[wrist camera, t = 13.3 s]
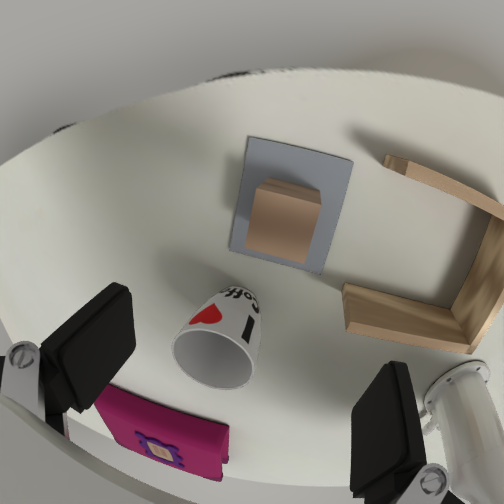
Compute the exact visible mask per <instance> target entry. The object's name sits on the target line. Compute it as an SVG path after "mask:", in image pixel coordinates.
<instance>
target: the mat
mask: <svg viewBox="0 0 504 504" xmlns="http://www.w3.org/2000/svg"><path fill="white" fill-rule="evenodd" d="M353 163H354V162H352V161H348V160H345V159H342V158H338V157H334V156H331V155H327V154H323V153H320V152H316V151H312V150H308V149H304V148H300V147H295V146H291V145H287V144H282V143H278V142H273V141H268V140H263V139H258V138H253V137H250V138H249V143H248V148H247V154H246V159H245V164H244V170H243V175H242V181H241V186H240V192H239V197H238V203H237V209H236V214H235V220H234V226H233V232H232V237H231V243H230V249H229V251H233V252H237V253H241V254H244V255H248V256H252V257H256V258H259V259H263V260H267V261H271V262H274V263H278V264H282V265H286V266H290V267H293V268H297V269H301V270H305V271H309V272H312V273H316V274H320V275H321V272H322V269H323V266H324V263H325V260H326V257H327V254H328V251H329V248H330V245H331V241H332V238H333V235H334V232H335V228H336V225H337V222H338V218H339V215H340V212H341V208H342V205H343V201H344V197H345V194H346V190H347V186H348V183H349V179H350V175H351V171H352V167H353ZM267 178H273V179H277V180H281V181H286V182H290V183H293V184H297V185H301V186H305V187H309V188H313V189H316V190H320V196H321V209H320V212H319V216H318V219H317V223H316V226H315V230H314V233H313V237H312V240H311V244H310V247H309V250H308V254H307V257H306V260H305V264H303V263H299V262H295V261H291V260H288V259H284V258H280V257H277V256H273V255H269V254H265V253H262V252H258V251H254V250H251V249H247V248H244V247H245V242H246V237H247V232H248V227H249V222H250V217H251V212H252V207H253V202H254V197H255V193H256V188H257V187H258V186H259V185H261V184H262V183H263V182H264V181H265V180H266V179H267Z"/></svg>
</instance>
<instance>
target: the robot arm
mask: <svg viewBox="0 0 504 504" xmlns="http://www.w3.org/2000/svg"><path fill="white" fill-rule="evenodd" d="M135 347H136V339H135V330H134V319H133V307H132V295H131V293H130V292H129V289H128V287H126V286H124V285H121V284H118V283H116V282H113V283H111V284H110V285H108V286H107V287H106V288H105V289H104V290H102V291H101V292H100V293H99V294H97V295H96V296H95V297H94V298H93V299H91V300H90V301H89V302H88V303H87V304H85V305H84V306H83V307H82V308H81V309H80V310H78V311H77V312H76V313H75V314H74V315H73V316H71V317H70V318H69V319H68V320H67V321H66V322H65V323H63V324H62V325H61V326H60V327H59V328H58V329H57V330H56V331H54V332H53V333H52V334H51V335H50V336H49V337H48V338H47V339H46V340H44V341H43V342H42V343H41V347H40V348H39V349H38V347H37V346H36V345H35V344H34V343H32V342H29V341H21V342H18V343H15V344H14V345H12V346H11V347H10V348H9V350H8V351H7V354H6V356H0V504H197V503H194V502H191V501H188V500H185V499H182V498H179V497H177V496H174V495H172V494H169V493H167V492H164V491H162V490H159V489H157V488H155V487H152V486H150V485H148V484H146V483H143V482H141V481H139V480H137V479H135V478H133V477H131V476H129V475H127V474H125V473H123V472H121V471H119V470H117V469H116V468H114V467H112V466H110V465H108V464H106V463H105V462H103V461H101V460H100V459H98V458H96V457H95V456H93V455H91V454H90V453H88V452H87V451H85V450H83V449H82V448H80V447H79V446H77V445H76V444H74V443H73V442H71V441H70V438H69V430H68V421H67V410H68V409H69V408H70V407H71V408H73V409H74V410H76V411H77V412H79V413H80V414H81V413H82V412H83V411H84V409H85V410H87V409H89V408H90V407H91V406H92V404H93V403H94V402H95V400H96V399H97V398H98V396H99V395H100V394H101V393H102V391H103V390H104V389H105V387H106V386H107V385H108V384H109V382H110V381H111V380H112V378H113V377H114V376H115V375H116V373H117V372H118V371H119V370H120V368H121V367H122V366H123V364H124V363H125V362H126V361H127V359H128V358H129V357H130V356H131V354H132V353H133V352H134V350H135ZM489 378H490V371H489V368H488V366H487V365H486V364H485V363H483V362H479V361H474V362H469V363H465V364H462V365H460V366H458V367H456V368H454V369H452V370H450V371H449V372H447V373H446V374H444V375H443V376H442V377H440V378H439V379H438V380H437V381H436V382H435V383H434V384H433V385H432V386H431V388H430V389H429V390H428V392H427V394H426V396H425V399H424V404H425V408H426V410H427V411H428V412H429V413H431V414H432V417H431V419H430V422H428V423H427V424H426V425H425V426H424V427H423V428H422V429H421V423H420V418H419V413H418V409H417V404H416V399H415V395H414V391H413V386H412V382H411V378H410V375H409V371H408V367H407V364H406V363H403V362H397V361H390V362H389V363H388V364H384V365H383V367H382V368H381V370H380V371H379V373H378V374H377V376H376V377H375V379H374V380H373V381H372V383H371V384H370V386H369V387H368V388H367V390H366V391H365V393H364V394H363V395H362V397H361V398H360V399H359V401H358V402H357V403H356V405H355V406H354V407H353V410H352V414H351V474H350V490H351V491H352V492H353V498H365V501H364V504H465V503H463V502H462V501H461V500H460V499H458V498H457V497H456V496H455V495H454V494H456V495H457V496H459V497H461V498H463V499H465V500H467V501H469V502H470V503H471V504H504V431H503V428H502V425H501V422H500V419H499V416H498V414H497V411H496V408H495V406H494V403H493V401H492V398H491V396H490V393H489V391H488V389H487V386H486V385H487V384H488V381H489ZM435 427H436V428H437V430H439V431H441V436H442V441H443V446H444V451H445V456H446V462H447V468H448V472H447V470H446V469H445V468H444V467H443V466H441V465H439V464H436V463H431V464H427V461H426V453H425V447H424V440H423V435H426V436H427V435H428V434H430V433H431V432H432V431H433V430H434V428H435ZM449 486H450V487H451V490H452V491H453V493H454V494H453V493H451V492H450V491H449V490H448V489H449Z"/></svg>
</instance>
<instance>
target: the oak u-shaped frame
mask: <svg viewBox="0 0 504 504" xmlns="http://www.w3.org/2000/svg"><path fill="white" fill-rule="evenodd" d="M383 166H384V167H386V168H388V169H391V170H393V171H395V172H398V173H400V174H402V175H404V176H407V177H409V178H412V179H415V180H417V181H420V182H422V183H425V184H427V185H430V186H432V187H435V188H437V189H439V190H442V191H444V192H446V193H449V194H451V195H453V196H455V197H458V198H460V199H462V200H464V201H466V202H468V203H470V204H473V205H475V206H477V207H479V208H481V209H483V210H485V211H487V212H489V213H490V214H492V215H491V218H490V221H489V224H488V227H487V230H486V233H485V235H484V238H483V241H482V243H481V246H480V248H479V251H478V253H477V255H476V258H475V260H474V262H473V265H472V267H471V269H470V271H469V274H468V276H467V278H466V280H465V282H464V284H463V286H462V288H461V290H460V292H459V294H458V296H457V298H456V300H455V302H454V304H453V305H452V307H451V309H450V310H449V309H445V308H441V307H437V306H433V305H429V304H426V303H422V302H418V301H414V300H410V299H406V298H402V297H398V296H394V295H390V294H386V293H383V292H379V291H375V290H371V289H367V288H363V287H359V286H355V285H352V284H348V283H345V284H344V287H343V290H342V299H343V308H344V317H345V326H346V332H351V333H355V334H360V335H365V336H369V337H374V338H379V339H384V340H389V341H394V342H399V343H404V344H409V345H415V346H420V347H426V348H432V349H438V350H444V351H450V352H457V353H464V354H472V353H473V352H474V350H475V349H476V347H477V346H478V344H479V343H480V341H481V340H482V338H483V337H484V335H485V334H486V332H487V330H488V329H489V327H490V326H491V324H492V322H493V321H494V319H495V317H496V315H497V314H498V312H499V310H500V308H501V307H502V305H503V303H504V205H502V204H500V203H498V202H497V201H495V200H493V199H491V198H489V197H488V196H486V195H484V194H482V193H480V192H478V191H476V190H474V189H472V188H470V187H468V186H466V185H464V184H462V183H460V182H458V181H456V180H454V179H452V178H449V177H447V176H445V175H443V174H441V173H438V172H436V171H434V170H431V169H429V168H427V167H424V166H422V165H419V164H417V163H414V162H412V161H409V160H405V159H402V158H398V157H394V156H390V155H386V156H385V160H384V164H383Z"/></svg>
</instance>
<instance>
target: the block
mask: <svg viewBox="0 0 504 504" xmlns="http://www.w3.org/2000/svg"><path fill="white" fill-rule="evenodd" d="M320 209H321V196H320V190H316V189H313V188H309V187H305V186H301V185H297V184H293V183H290V182H286V181H281V180H277V179H273V178H267V179H266V180H265V181H264V182H263V183H262V184H261V185H259V186H258V187H257V188H256V193H255V197H254V202H253V207H252V212H251V217H250V222H249V227H248V232H247V237H246V242H245V247H244V248H247V249H251V250H254V251H258V252H262V253H265V254H269V255H273V256H277V257H280V258H284V259H288V260H291V261H295V262H299V263H303V264H305V260H306V257H307V254H308V250H309V247H310V244H311V240H312V237H313V233H314V230H315V226H316V223H317V219H318V216H319V212H320Z"/></svg>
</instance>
